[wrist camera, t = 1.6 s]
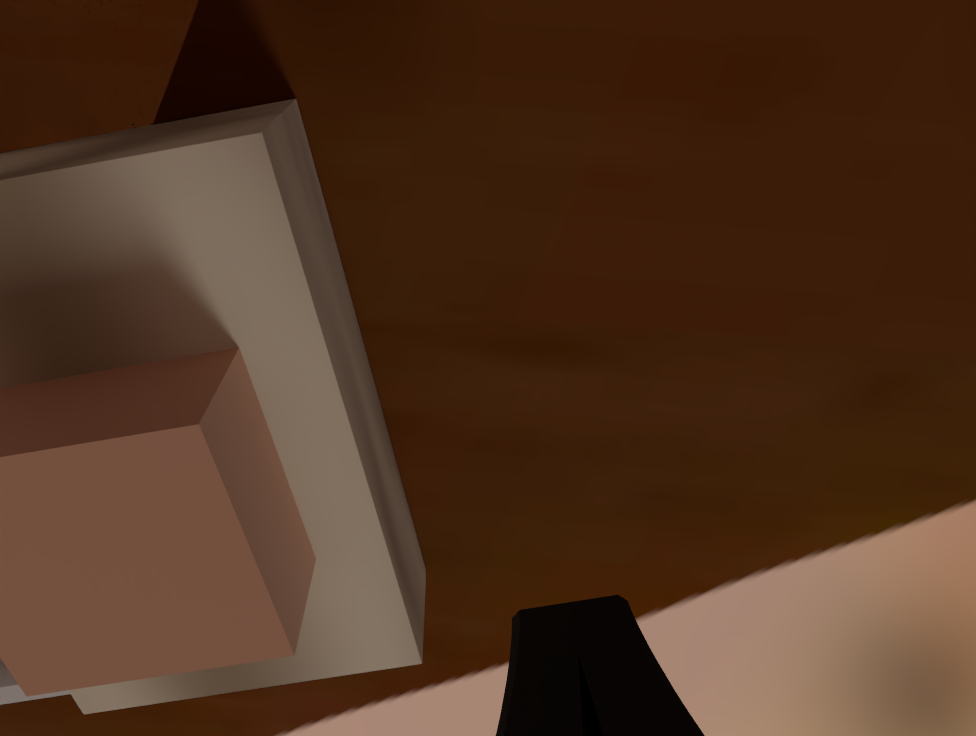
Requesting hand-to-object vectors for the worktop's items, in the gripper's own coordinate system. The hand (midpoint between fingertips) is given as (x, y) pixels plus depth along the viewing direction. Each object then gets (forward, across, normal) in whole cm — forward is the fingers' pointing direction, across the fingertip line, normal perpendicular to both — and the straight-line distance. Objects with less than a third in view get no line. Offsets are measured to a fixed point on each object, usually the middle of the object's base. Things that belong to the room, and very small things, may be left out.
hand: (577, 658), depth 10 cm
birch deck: (+9, +7, 0) cm, 11 cm away
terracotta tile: (+6, +7, 0) cm, 9 cm away
